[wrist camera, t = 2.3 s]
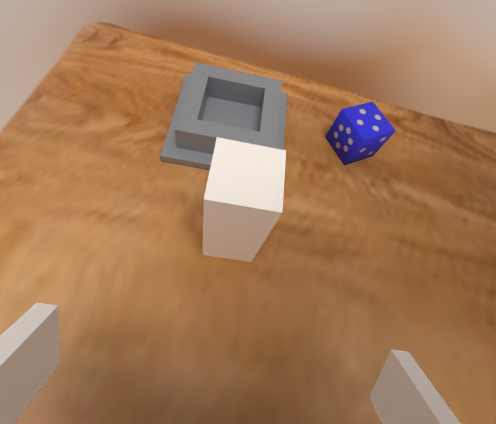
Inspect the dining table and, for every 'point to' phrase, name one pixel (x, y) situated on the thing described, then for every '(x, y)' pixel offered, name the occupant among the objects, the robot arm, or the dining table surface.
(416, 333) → the dining table surface
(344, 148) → the die
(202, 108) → the socket
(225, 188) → the plug
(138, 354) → the dining table surface
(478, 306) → the dining table surface
